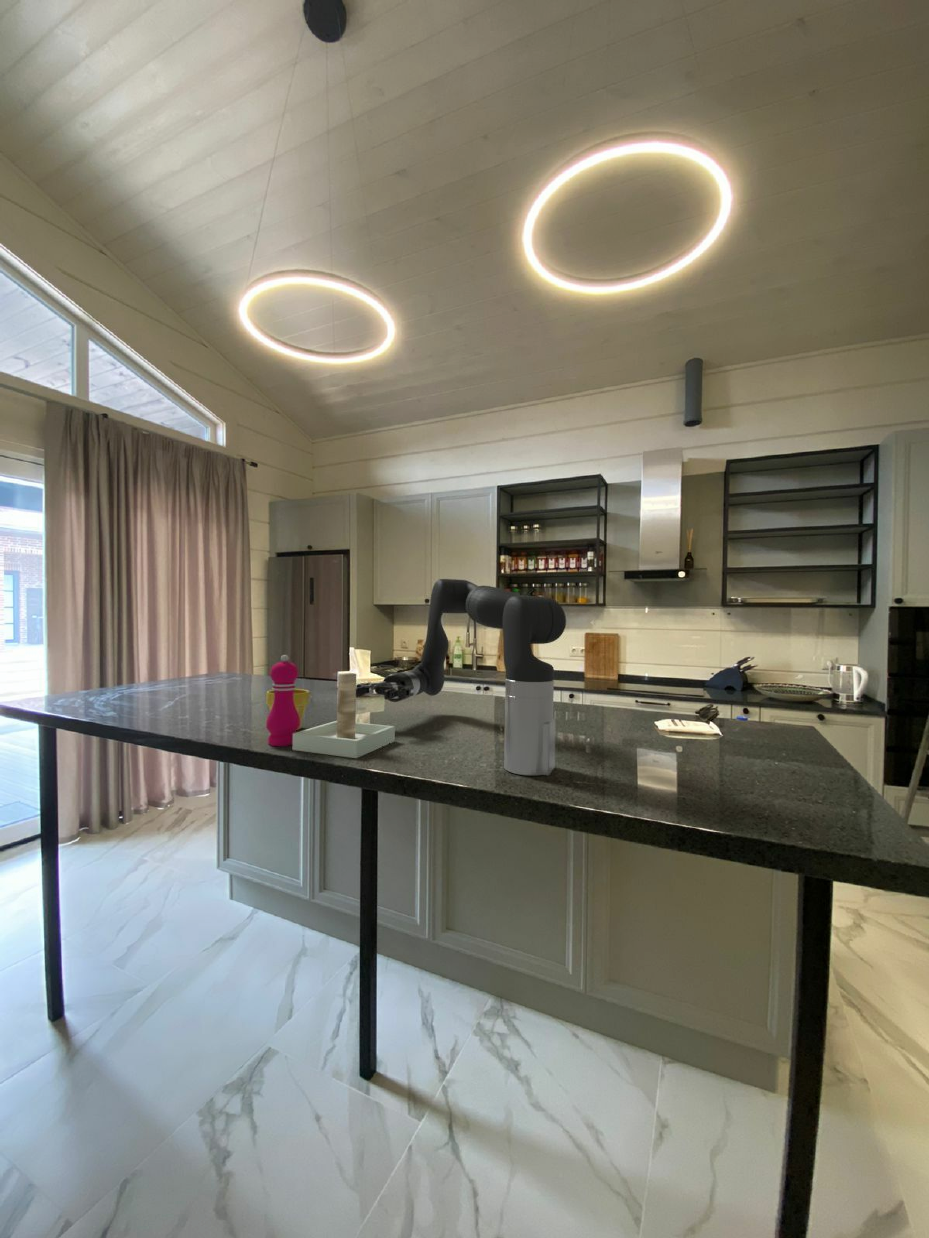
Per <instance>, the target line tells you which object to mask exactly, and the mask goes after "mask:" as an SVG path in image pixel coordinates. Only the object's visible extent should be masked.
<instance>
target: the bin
mask: <svg viewBox="0 0 929 1238" xmlns="http://www.w3.org/2000/svg"><path fill="white" fill-rule="evenodd" d="M395 731H396V727H395V726H394V725H385V724H377V723H375V724H374V723H367V722H366V723H365V722H357V721H355V739H347V738H338V737H337V720H334V721H331V722H327V723H324V724H320V725H318V726H317V725H316V726H313V727H311V728H307V729H303V730H299V731H296V732H295V733H293V745H292V751H297V752H298V751H299V752H306V753H315V754H322V755H328V756H329V755H330V756H337V757H343V758H350V759H352V758H353V759H358V758H360V757H362V756H365V755H367V754H368V753H371V752H374V751H376V750H379V749H380V748H383V747H385V746H387V745H389V743H390V744H392V743H394V742H395V741H396V740H395V739H396V738H395V735H396V733H395ZM382 746H383V747H382Z"/></svg>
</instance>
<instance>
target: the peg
mask: <svg viewBox="0 0 929 1238" xmlns="http://www.w3.org/2000/svg"><path fill="white" fill-rule="evenodd" d="M356 685H357V673H355V672H354V673H352V672H342V673H338V674H337V703H336V704H337V707H336V708H337V711H336V712H337V713H336V714H337V715H336V716H337V717H336V721H337V737H338V738H347V739H355V722H356V712H357V711H356V709H357V708H356V707H357V706H356V705H357V697H356Z"/></svg>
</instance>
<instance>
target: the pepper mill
mask: <svg viewBox="0 0 929 1238" xmlns="http://www.w3.org/2000/svg"><path fill="white" fill-rule="evenodd" d="M289 659H290V657H289V655H287V654H282V655H281V656H280V662H276V663H275V664H273V665H272V667H271V669H270V672H269V673H270V674H269V676H270V678H271V680H272V681H273V683H272V688H271V690H274V703H273V706H272V709H271V711H270V710H269V712H268V713H269V714H268V715H267V718H266V723H265V727H266V729H267V730H268V732H270V734H268V737H267V738H268V739H267V744H268V746H273V747H289V746H293V733H296V732H297V731H298V730H297V729H298V728H299V726H300V718H299V714H298V712H297V710H296V708H295V705H294V700H293V693H294V690H295V689H297V687H296V685H297V683H295V681H296V680H297V679H298V677H299V668H298V667H297V665H295V663H293V662H291V661H289ZM296 730H297V731H296Z"/></svg>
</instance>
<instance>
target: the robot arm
mask: <svg viewBox="0 0 929 1238" xmlns="http://www.w3.org/2000/svg"><path fill="white" fill-rule="evenodd" d="M429 601H430V602H429V610H428V619H427V628H426V630H427V631H426V638H425V641H424V646H423V649H422V652H421V653H422V654H421V658H420V663H421V664H417V665H416V666H414V668H413V669H412V670H410V671H400V672H395V673H390V674H388V675H387V676H385V678H384V679H383V680H382V681H379V682H371V681H370V682H369V681H368V682H364V683H358V684H356V698H358V697H363V696H369V697H371V698H372V697H373V698H374V697H375V698H376V697H381V698H383V699H384V700H387V701H389V702H393V703H398V702H402V701H405V700H408V699H410V698H413V697H414V696H418V695H420V694H422V693H424V694H427V695H428V696H432V697H433V696H436V695H438V694H439V693H441V691H442V690H443V687H444V685H445V662H446V658H447V655H448V652H449V647H450V645H449V639H448V635H447V634H446V631H445V629H444V627H443V623H442V617H443V614H467V615H468V616H469V618H470V619H471V620H472V621H473V622H475V623H477V624H479V625H482V626H484V627H487V628H491V629H500V630H502V641H503V644H502V647H503V649H502V650H503V664H504V670H505V686H504V687H505V692H504V693H505V697H504V747H503V748H504V750H503V751H504V753H503V754H504V755H503V759H504V760H503V762H504V763H503V768H504V769H505V770H506V771H507V772H509V773H513V774H516V775H522V776H550V775H551V773H552V772H553V771H554V769H555V768H556V764H555V763H556V718H554V695H555V694H554V691H555V690H554V687H555V686H554V683H555V669H554V666H553V665H552V664H551V663H548V662H546V661H543V660H540V659H539V658H538V657H536V656H535V655H534V653H533V651H532V645H545V644H551V643H553V642H555V641H557V640H558V639H560V637H562V635H563V633H564V632H565V629H566V626H567V618H566V613H565V611H564V609H563V607H562V605H561V604H560V603H559V602H558V601H557V600H555V598H551V597H549V596H536V595H534V596H533V595H521V594H518V593H516V592H513V591H509V590H506V589H503V588H499V587H497V586H490V585H477V584H475V583H473V582H471V581H469V580H465V579H456V578H455V579H454V578H453V579H452V578H439V579H437V580H435V582H434V585H433V587H432V589H431V595H430V600H429ZM374 692H375V693H374Z"/></svg>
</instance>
